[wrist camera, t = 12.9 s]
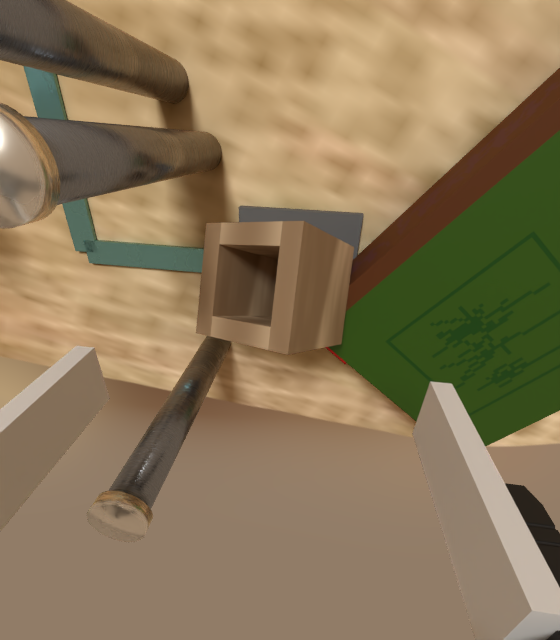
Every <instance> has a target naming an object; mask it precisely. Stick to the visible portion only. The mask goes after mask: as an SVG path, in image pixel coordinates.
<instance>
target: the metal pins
mask: <svg viewBox="0 0 560 640" xmlns="http://www.w3.org/2000/svg"><path fill="white" fill-rule="evenodd" d="M0 60H3V61H6V62H10V63H14V64H18V65H22V66H24V70H25V73H26V77H27V80H28V84H29V87H30V91H31V94H32V98H33V102H34V105H35V109H36V112H37V116H38V118H37V117H26V116H22V115H21V114H20V113H18V112H17V111H16V110H14V109H12V108H11V107H9V106H7V105H5V104H3V103H0V228H13V227H17V226H21V225H25V224H29V223H32V222H36V221H39V220H42V219H44V218H46V217H48V216H49V215H50V214H51V213H52V212H53V210H54V209H55V207H56V205H59V204H63V208H64V211H65V215H66V219H67V222H68V226H69V229H70V233H71V236H72V240H73V243H74V247H75V250H76V251H82V252H87V256H88V259H89V263H95V264H106V265H118V266H130V267H142V268H154V269H166V270H177V271H189V272H201V273H202V264H203V253H204V248H193V247H180V246H167V245H154V244H141V243H128V242H115V241H102V240H97V239H96V235H95V231H94V227H93V222H92V218H91V214H90V210H89V206H88V202H87V198H89V197H94V196H98V195H103V194H107V193H111V192H116V191H120V190H125V189H129V188H133V187H138V186H142V185H146V184H151V183H155V182H160V181H164V180H168V179H173V178H177V177H182V176H186V175H190V174H195V173H199V172H204V171H208V170H212V169H214V168H215V167H216V166H217V165H218V164H219V162H220V160H221V154H222V152H221V147H220V144H219V142H218V140H217V139H216V138H215V137H214V136H213V135H211V134H210V133H207V132H199V131H187V130H176V129H164V128H153V127H141V126H130V125H118V124H107V123H95V122H84V121H72V120H67V116H66V112H65V108H64V104H63V100H62V96H61V92H60V88H59V84H58V80H57V76H56V74H58V75H62V76H66V77H70V78H74V79H78V80H82V81H86V82H90V83H94V84H98V85H102V86H106V87H110V88H114V89H118V90H122V91H126V92H130V93H134V94H138V95H142V96H145V97H149V98H153V99H157V100H161V101H165V102H169V103H177V102H179V101H181V100H182V99H183V98H184V97H185V95H186V93H187V90H188V77H187V74H186V71H185V69H184V67H183V66H182V65H181V64H180V63H179V62H178V61H177V60H175V59H173V58H172V57H170V56H168V55H166V54H164V53H162V52H161V51H159V50H157V49H155V48H153V47H151V46H149V45H148V44H146V43H144V42H142V41H140V40H138V39H137V38H135V37H133V36H131V35H129V34H127V33H125V32H124V31H122V30H120V29H118V28H116V27H114V26H112V25H111V24H109V23H107V22H105V21H103V20H101V19H100V18H98V17H96V16H94V15H92V14H90V13H88V12H87V11H85V10H83V9H81V8H79V7H77V6H75V5H74V4H72V3H70V2H68V1H66V0H0ZM230 345H231V343H230V341H227V340H223V339H219V338H215V337H211V336H206V338H205V340H204V341H203V343H202V344H201V346H200V347H199V349H198V351H197V352H196V354H195V355H194V357H193V358H192V360H191V362H190V363H189V365H188V366H187V368H186V369H185V371H184V373H183V374H182V376H181V377H180V379H179V381H178V382H177V384H176V385H175V387H174V388H173V390H172V392H171V393H170V395H169V396H168V398H167V399H166V401H165V403H164V404H163V406H162V407H161V409H160V411H159V412H158V414H157V415H156V417H155V418H154V420H153V421H152V423H151V425H150V426H149V428H148V429H147V431H146V433H145V434H144V436H143V437H142V439H141V440H140V442H139V444H138V445H137V447H136V448H135V450H134V452H133V453H132V455H131V456H130V458H129V459H128V461H127V463H126V464H125V466H124V467H123V469H122V470H121V472H120V473H119V475H118V477H117V478H116V480H115V481H114V483H113V485H112V486H111V488H110V489H109V491H105V492H102V493H101V494H100V495H99V496H98V497H97V499H96V500H95V502H94V503H93V505H92V506H91V508H90V509H89V511H88V512H87V520H88V522H89V523H90V525H91V526H92V527H93V528H95V529H96V530H97V531H98V532H100V533H102V534H103V535H105V536H107V537H109V538H112V539H115V540H119V541H124V542H135V541H139V540H141V539H142V538H143V537H144V536H145V534H146V531H147V529H148V527H149V525H150V523H151V521H152V518H153V514H152V511H151V508H152V506H153V504H154V502H155V499H156V497H157V495H158V493H159V491H160V489H161V487H162V485H163V483H164V481H165V479H166V477H167V475H168V473H169V471H170V469H171V467H172V464H173V463H174V461H175V458H176V456H177V454H178V452H179V450H180V448H181V446H182V444H183V442H184V440H185V438H186V436H187V434H188V432H189V430H190V427H191V426H192V424H193V422H194V419H195V417H196V415H197V413H198V411H199V409H200V407H201V405H202V403H203V401H204V399H205V397H206V395H207V393H208V391H209V389H210V387H211V385H212V383H213V381H214V378H215V376H216V374H217V372H218V370H219V368H220V366H221V364H222V362H223V360H224V358H225V356H226V354H227V352H228V350H229V348H230Z"/></svg>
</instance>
